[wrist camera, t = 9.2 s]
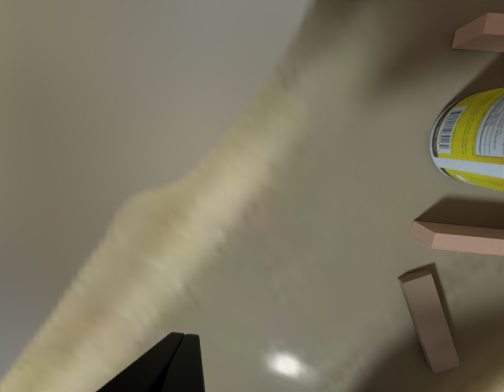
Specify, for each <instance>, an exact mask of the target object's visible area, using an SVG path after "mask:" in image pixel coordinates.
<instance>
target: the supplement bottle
mask: <svg viewBox="0 0 504 392" xmlns="http://www.w3.org/2000/svg"><path fill="white" fill-rule="evenodd" d="M430 153H431V156H432V159H433V161H434V163H435V165H436V166H437V167H438V169H439V170H440V171H441V172H442V173H444V174H445V175H446V176H448V177H450V178H452V179H454V180H457V181H460V182H464V183H468V184H473V185H477V186H482V187H486V188H491V189H495V190H499V191H504V87H503V88H498V89H493V90H489V91H484V92H479V93H475V94H471V95H469V96H466V97H463V98H461V99H459V100H457V101H456V102H454V103H453V104H451V105H450V106H449V107H448V108H446V109H445V110H444V111H443V113H442V114H441V115H440V116H439V118H438V119H437V121H436V122H435V124H434V126H433V129H432V132H431V136H430Z"/></svg>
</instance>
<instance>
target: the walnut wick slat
mask: <svg viewBox="0 0 504 392" xmlns="http://www.w3.org/2000/svg"><path fill="white" fill-rule="evenodd" d="M398 280H399V283H400V286H401V289H402V292H403V295H404V297H405V300H406V303H407V306H408V309H409V312H410V315H411V318H412V321H413V324H414V327H415V330H416V332H417V335H418V338H419V341H420V344H421V347H422V350H423V353H424V356H425V359H426V362H427V365H428V366H429V368H430V369H431V371H432V372H433V374H436V373H439V372H443V371H446V370H450V369H453V368H456V367H460V366H461V365H460V362H459V359H458V356H457V353H456V350H455V346H454V343H453V340H452V337H451V334H450V331H449V328H448V324H447V321H446V318H445V315H444V312H443V309H442V306H441V302H440V299H439V296H438V293H437V290H436V287H435V284H434V280H433V277H432V274H431V273H430V272H429V271H427V270H426V269H423V270H420V271H417V272H414V273H411V274H408V275H405V276H402V277H399V278H398Z"/></svg>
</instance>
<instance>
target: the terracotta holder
mask: <svg viewBox="0 0 504 392" xmlns="http://www.w3.org/2000/svg"><path fill="white" fill-rule="evenodd" d="M452 49H464V50H478V51H491V52H504V14H503V13H486V14H484V15H482V16H481V17H479V18H477V19H475V20H473V21H472V22H470V23H468V24H466V25H464V26H463V27H461V28H459V29H457V30H456V31H455V35H454V40H453V45H452ZM411 235H413V236H414V237H415V238H417V239H418V240H420V241H421V242H423V243H424V244H426V245H427V246H429V247H430V248H433V249H443V250H453V251H463V252H473V253H483V254H493V255H503V256H504V229H494V228H484V227H474V226H463V225H453V224H442V223H432V222H422V221H414V222H413V227H412V231H411Z"/></svg>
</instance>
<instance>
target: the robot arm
mask: <svg viewBox="0 0 504 392" xmlns="http://www.w3.org/2000/svg"><path fill="white" fill-rule="evenodd" d="M96 392H205V386H204V377H203V367H202V358H201V348H200V339H199V335H195V334H186V335H185V334H184V333H178V332H171V333H170V334H168V335H167V336H166V337H165V338H163V339H162V340H161V341H160V342H158V343H157V344H156V345H154V346H153V347H152V348H151V349H149V350H148V351H147V352H146V353H144V354H143V355H142V356H141V357H139V358H138V359H137V360H136V361H134V362H133V363H132V364H130V365H129V366H128V367H127V368H125V369H124V370H123V371H122V372H120V373H119V374H118V375H117V376H115V377H114V378H113V379H112V380H110V381H109V382H108V383H106V384H105V385H104V386H103V387H101V388H100V389H99V390H98V391H96Z"/></svg>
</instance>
